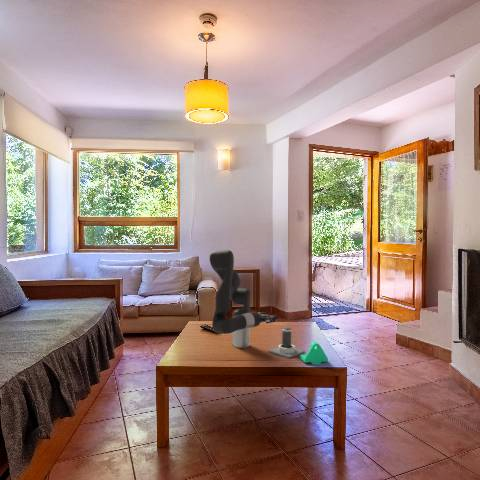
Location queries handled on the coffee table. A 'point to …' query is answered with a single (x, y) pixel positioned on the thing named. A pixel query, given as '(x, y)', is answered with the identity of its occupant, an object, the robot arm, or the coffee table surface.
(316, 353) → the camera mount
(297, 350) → the mount plate
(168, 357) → the coffee table surface
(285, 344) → the lens
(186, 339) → the coffee table surface
